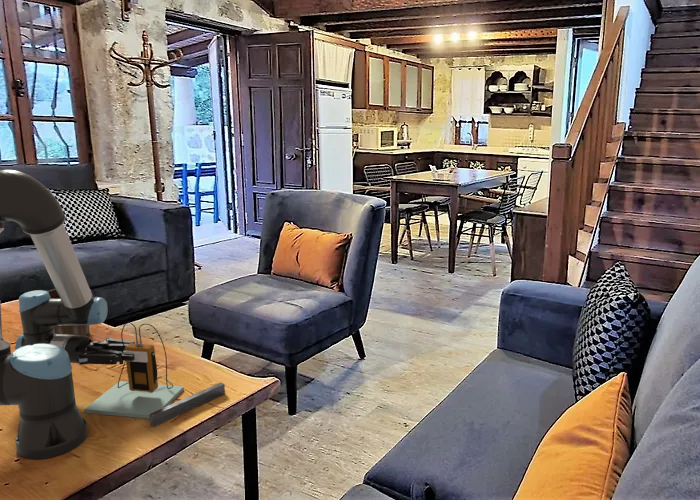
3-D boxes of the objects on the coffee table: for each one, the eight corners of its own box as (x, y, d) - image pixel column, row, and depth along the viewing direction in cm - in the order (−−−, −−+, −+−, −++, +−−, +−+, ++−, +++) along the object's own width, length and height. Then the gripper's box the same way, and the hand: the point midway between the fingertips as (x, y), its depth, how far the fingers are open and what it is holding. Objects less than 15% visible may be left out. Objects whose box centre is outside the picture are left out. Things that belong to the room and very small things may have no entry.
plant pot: (105, 333, 197) (100, 291, 194) (61, 348, 184) (55, 303, 181) (80, 324, 206) (75, 283, 203) (36, 338, 193) (30, 295, 190)
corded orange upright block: (183, 377, 157) (177, 312, 152) (165, 394, 147) (159, 325, 142) (136, 373, 159) (129, 308, 154) (116, 390, 150) (108, 322, 145)
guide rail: (153, 427, 136) (152, 416, 136) (150, 424, 137) (149, 414, 137) (225, 393, 153) (224, 384, 152) (221, 392, 154) (220, 382, 153)
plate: (154, 419, 140) (154, 415, 140) (84, 412, 144) (84, 409, 143) (183, 389, 155) (183, 386, 155) (119, 384, 159) (119, 381, 159)
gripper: (91, 349, 159) (166, 355, 155) (53, 374, 144) (135, 380, 140) (88, 325, 157) (163, 330, 153) (50, 347, 142) (132, 353, 138)
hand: (150, 354), depth 146 cm, fingers closed on corded orange upright block, 3 cm apart
